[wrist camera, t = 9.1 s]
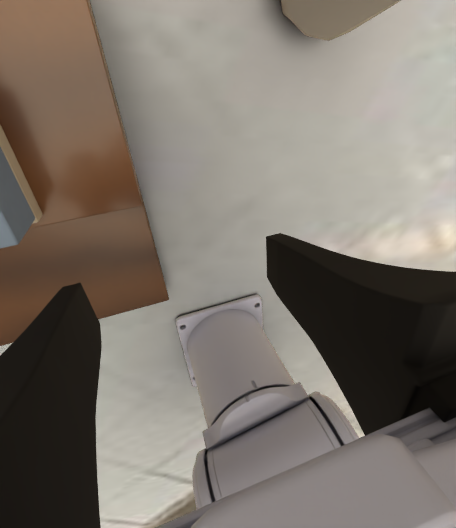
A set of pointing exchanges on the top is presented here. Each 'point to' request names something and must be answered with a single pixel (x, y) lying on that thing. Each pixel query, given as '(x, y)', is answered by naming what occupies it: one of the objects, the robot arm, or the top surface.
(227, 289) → the top surface
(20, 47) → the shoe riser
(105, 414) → the top surface
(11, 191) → the blue stepped block
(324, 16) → the salt shaker
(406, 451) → the robot arm
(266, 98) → the top surface
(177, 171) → the top surface
